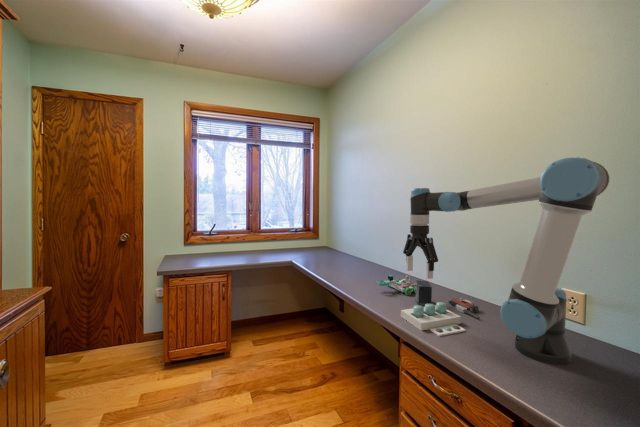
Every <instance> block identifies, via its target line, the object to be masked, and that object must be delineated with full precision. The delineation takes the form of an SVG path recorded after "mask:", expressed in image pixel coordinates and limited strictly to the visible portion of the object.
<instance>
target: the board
mask: <svg viewBox="0 0 640 427" xmlns="http://www.w3.org/2000/svg"><path fill="white" fill-rule="evenodd" d="M434 305H435V315H434V316H428V315H426V314H425V307H424V317H422V318H416V317H415V316H413V307H412V308H406V309H400V317H401V318H402V319H404V320H405V321H406V320H407V322H408V323H409V324H411V325H412V326H414V327H416V328H417V329H418V330H420V331H425V330H430V329H433V328H439V327H444V326H450V325H461V324H462V316H460V315H459V314H456V313H455V312H453V311H451V310H449V309H447V314H439V313H437V312H436V304H434Z"/></svg>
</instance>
